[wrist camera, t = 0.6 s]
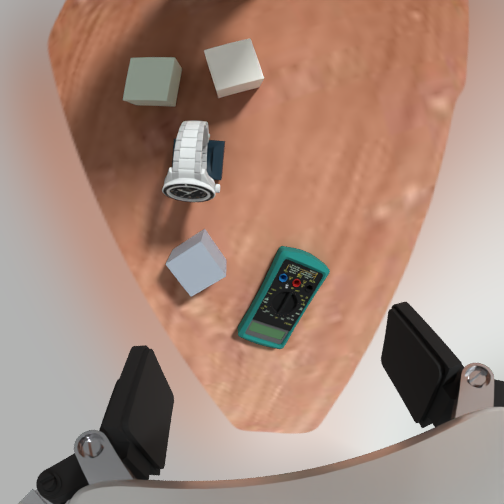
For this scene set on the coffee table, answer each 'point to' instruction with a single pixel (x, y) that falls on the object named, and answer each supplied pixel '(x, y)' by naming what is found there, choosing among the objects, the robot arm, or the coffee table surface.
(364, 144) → the coffee table surface
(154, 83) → the sage cube
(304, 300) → the digital multimeter
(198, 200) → the watch
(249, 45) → the cream cube
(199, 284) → the slate cube
